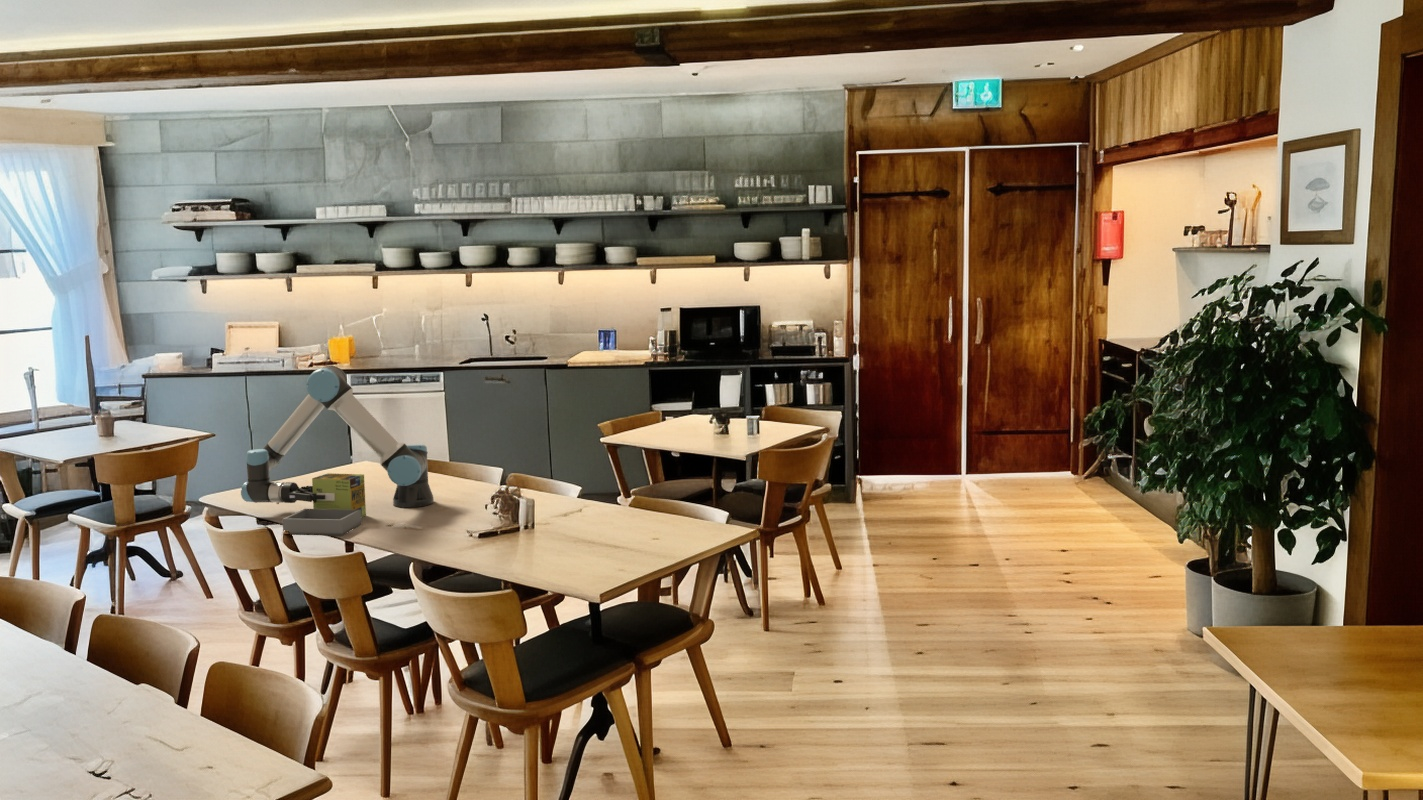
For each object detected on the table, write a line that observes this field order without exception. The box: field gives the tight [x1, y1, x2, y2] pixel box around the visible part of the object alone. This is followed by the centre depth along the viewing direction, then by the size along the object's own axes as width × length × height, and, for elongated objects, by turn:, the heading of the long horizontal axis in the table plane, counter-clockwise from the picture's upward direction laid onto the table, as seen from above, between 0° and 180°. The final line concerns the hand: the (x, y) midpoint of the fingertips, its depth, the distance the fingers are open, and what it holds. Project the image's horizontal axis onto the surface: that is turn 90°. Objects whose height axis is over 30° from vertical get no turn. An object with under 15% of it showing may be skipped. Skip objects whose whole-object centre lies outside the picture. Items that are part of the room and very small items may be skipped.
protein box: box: [311, 472, 367, 518], centre depth 394 cm, size 10×15×16 cm
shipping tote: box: [281, 508, 363, 537], centre depth 377 cm, size 21×16×6 cm
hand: (341, 493), depth 394 cm, fingers closed on protein box, 11 cm apart
